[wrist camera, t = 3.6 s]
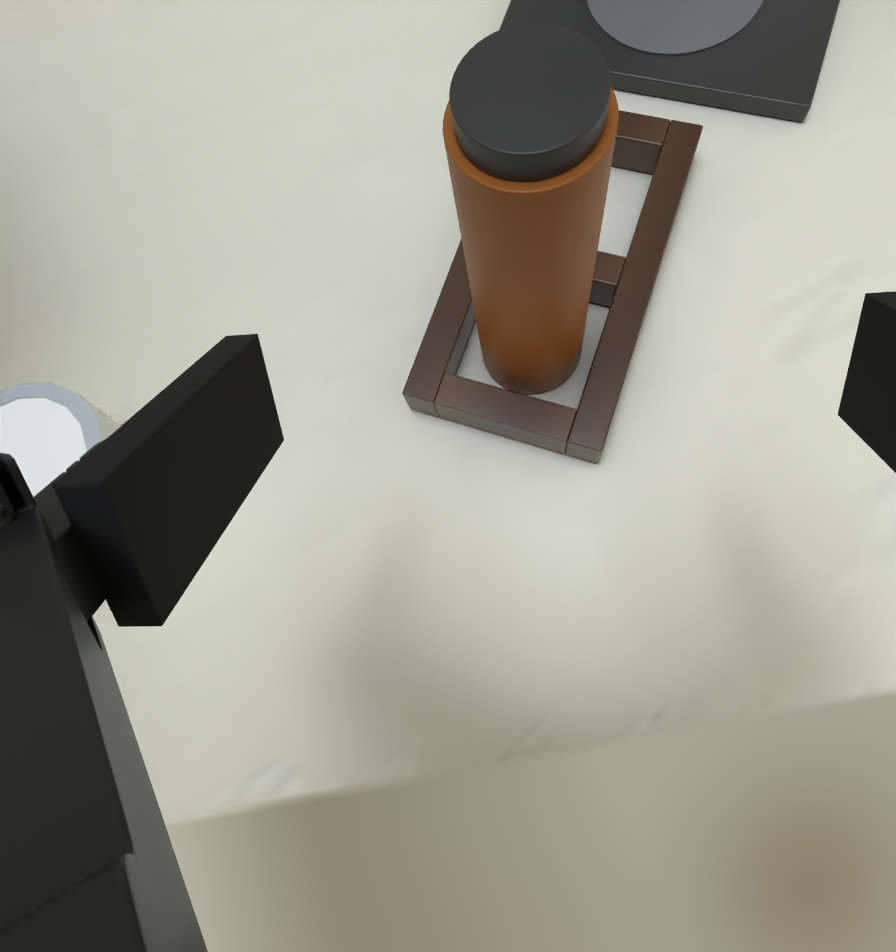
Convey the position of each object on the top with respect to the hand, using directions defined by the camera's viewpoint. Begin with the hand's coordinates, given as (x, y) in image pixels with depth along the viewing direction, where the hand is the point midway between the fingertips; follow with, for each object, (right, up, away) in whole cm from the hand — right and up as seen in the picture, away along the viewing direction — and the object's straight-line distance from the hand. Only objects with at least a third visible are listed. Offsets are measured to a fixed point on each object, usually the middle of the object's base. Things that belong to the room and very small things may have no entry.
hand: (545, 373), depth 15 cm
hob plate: (+10, +23, +20) cm, 32 cm away
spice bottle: (+2, +4, +16) cm, 16 cm away
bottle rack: (+3, +7, +17) cm, 18 cm away
